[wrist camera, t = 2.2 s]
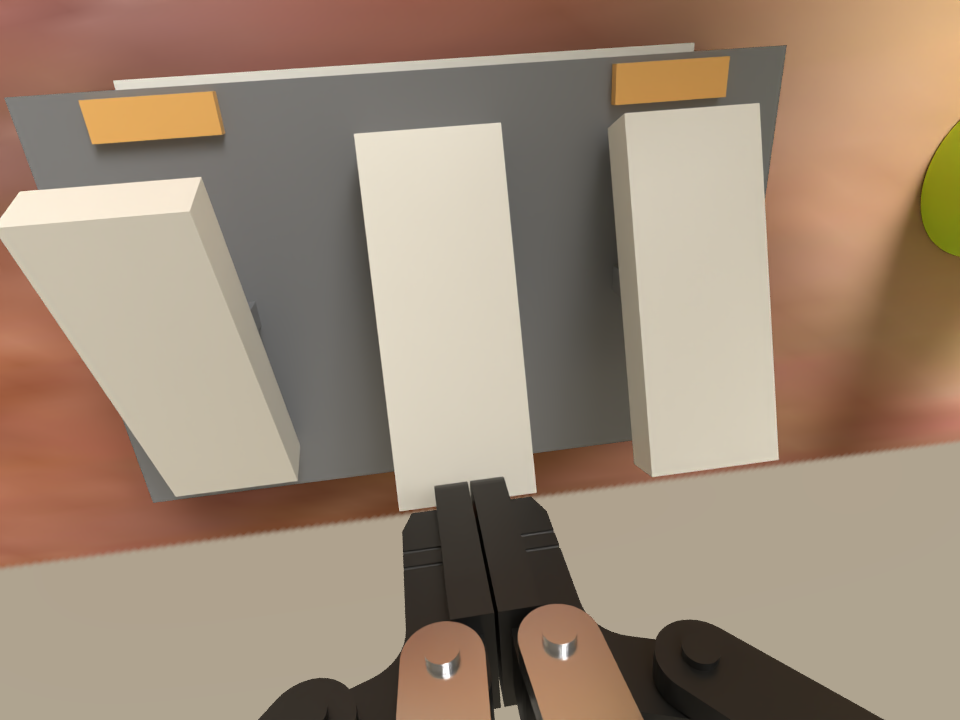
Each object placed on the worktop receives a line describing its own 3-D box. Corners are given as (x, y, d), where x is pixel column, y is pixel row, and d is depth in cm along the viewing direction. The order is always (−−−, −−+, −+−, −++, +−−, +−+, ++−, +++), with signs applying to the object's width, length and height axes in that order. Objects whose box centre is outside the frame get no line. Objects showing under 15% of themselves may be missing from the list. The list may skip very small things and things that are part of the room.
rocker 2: (493, 137, 15) (500, 122, 13) (527, 478, 15) (536, 492, 14) (358, 147, 14) (353, 133, 13) (400, 495, 15) (399, 511, 14)
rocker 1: (201, 176, 11) (188, 211, 11) (300, 445, 17) (298, 481, 17) (20, 191, 11) (-7, 228, 10) (184, 459, 17) (175, 496, 16)
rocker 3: (732, 118, 15) (759, 103, 14) (752, 448, 16) (778, 460, 15) (607, 128, 15) (624, 112, 14) (634, 463, 16) (652, 477, 15)
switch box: (710, 42, 18) (825, 32, 14) (679, 372, 23) (756, 451, 18) (83, 84, 17) (-41, 88, 12) (192, 431, 22) (135, 534, 17)
